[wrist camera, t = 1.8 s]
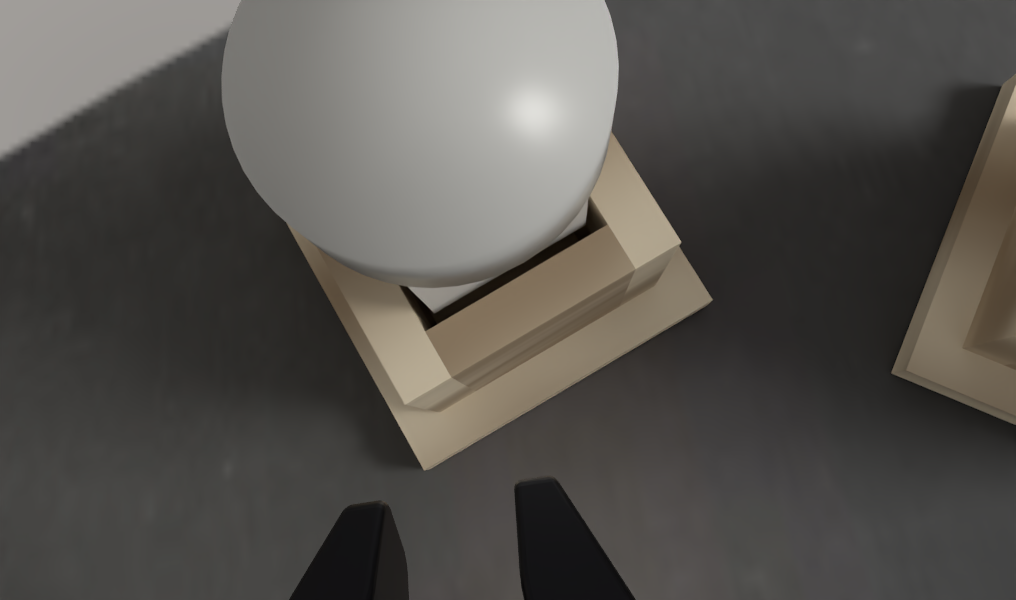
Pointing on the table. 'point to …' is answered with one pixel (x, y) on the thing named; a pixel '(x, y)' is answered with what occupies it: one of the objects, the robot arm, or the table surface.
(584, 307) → the beige square socket
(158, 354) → the table surface
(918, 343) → the cream square holder
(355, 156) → the light grey rounded piece
